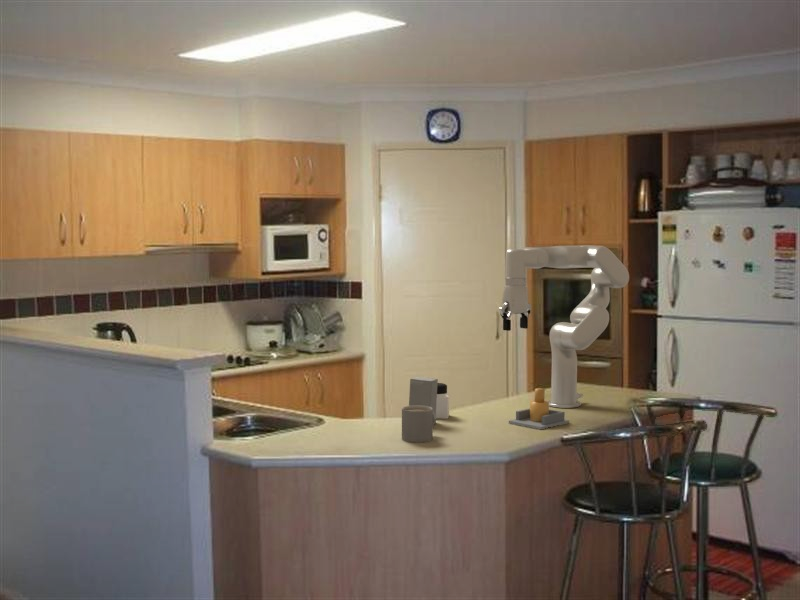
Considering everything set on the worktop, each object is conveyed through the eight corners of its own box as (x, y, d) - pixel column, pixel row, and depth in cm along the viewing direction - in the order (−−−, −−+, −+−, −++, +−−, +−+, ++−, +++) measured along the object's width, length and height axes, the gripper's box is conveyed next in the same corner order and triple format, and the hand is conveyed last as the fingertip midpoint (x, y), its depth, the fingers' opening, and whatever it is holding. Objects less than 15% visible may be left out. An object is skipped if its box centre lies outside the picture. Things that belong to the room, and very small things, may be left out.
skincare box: (407, 424, 345) (407, 378, 344) (415, 420, 352) (415, 375, 351) (430, 426, 342) (430, 380, 341) (437, 422, 349) (438, 377, 348)
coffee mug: (415, 443, 316) (415, 412, 315) (395, 438, 324) (395, 407, 323) (446, 438, 324) (447, 407, 323) (427, 432, 332) (427, 403, 331)
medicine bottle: (448, 415, 362) (449, 382, 361) (447, 419, 354) (448, 385, 353) (429, 414, 362) (429, 381, 361) (427, 418, 355) (427, 385, 354)
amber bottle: (537, 417, 352) (538, 386, 351) (552, 420, 347) (552, 389, 346) (526, 420, 347) (526, 388, 346) (540, 423, 343) (541, 391, 342)
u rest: (537, 417, 358) (537, 406, 358) (569, 423, 348) (569, 411, 347) (508, 423, 347) (508, 412, 346) (540, 429, 337) (540, 418, 336)
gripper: (522, 281, 374) (522, 326, 375) (492, 283, 362) (492, 330, 363) (538, 282, 369) (538, 328, 370) (508, 284, 357) (508, 332, 358)
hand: (515, 329), depth 367 cm, fingers open, 9 cm apart
